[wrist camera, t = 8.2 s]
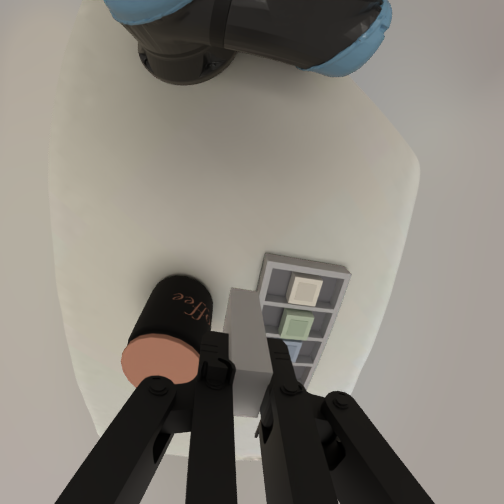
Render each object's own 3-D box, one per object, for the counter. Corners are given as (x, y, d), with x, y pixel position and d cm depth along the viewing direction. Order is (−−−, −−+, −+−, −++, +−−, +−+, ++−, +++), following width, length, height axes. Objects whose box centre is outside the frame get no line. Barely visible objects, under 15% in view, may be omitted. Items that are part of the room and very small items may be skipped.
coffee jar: (223, 315, 50) (221, 390, 33) (171, 334, 51) (151, 407, 34) (196, 263, 46) (178, 325, 29) (141, 286, 47) (104, 350, 30)
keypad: (265, 253, 47) (267, 260, 43) (344, 266, 48) (351, 274, 45) (236, 374, 55) (237, 386, 51) (302, 379, 56) (306, 390, 53)
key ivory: (292, 270, 46) (295, 277, 44) (319, 274, 47) (323, 281, 45) (285, 296, 48) (288, 303, 45) (311, 299, 48) (315, 306, 46)
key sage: (284, 307, 47) (287, 315, 45) (310, 310, 48) (314, 318, 45) (278, 330, 48) (280, 338, 46) (303, 332, 49) (306, 341, 47)
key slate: (275, 332, 50) (277, 340, 48) (299, 335, 51) (302, 343, 48) (269, 352, 52) (270, 361, 49) (292, 354, 52) (295, 363, 50)
